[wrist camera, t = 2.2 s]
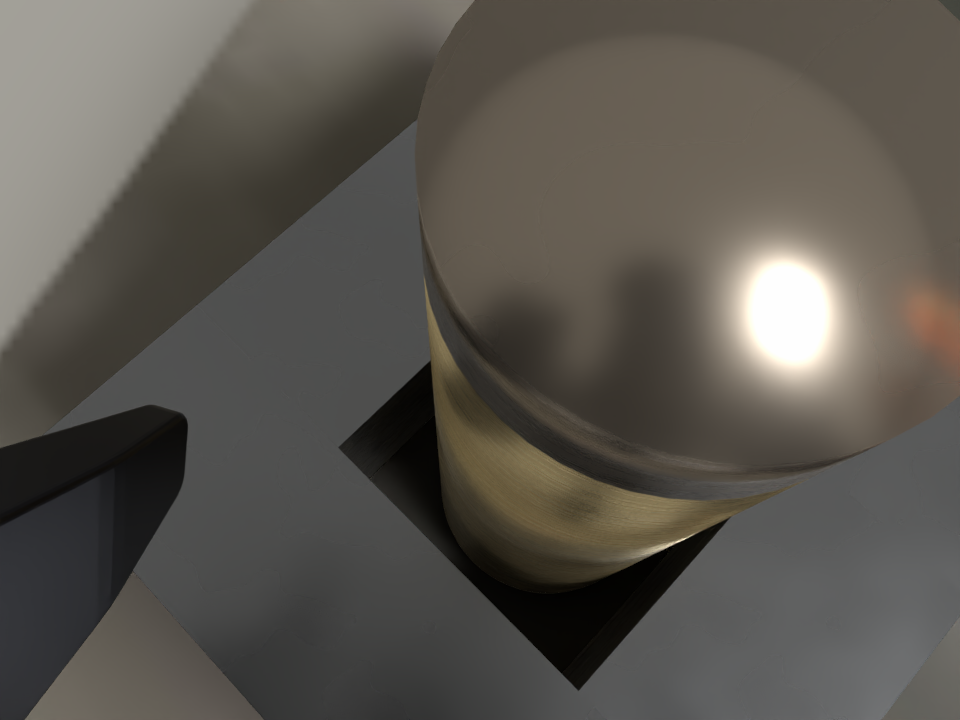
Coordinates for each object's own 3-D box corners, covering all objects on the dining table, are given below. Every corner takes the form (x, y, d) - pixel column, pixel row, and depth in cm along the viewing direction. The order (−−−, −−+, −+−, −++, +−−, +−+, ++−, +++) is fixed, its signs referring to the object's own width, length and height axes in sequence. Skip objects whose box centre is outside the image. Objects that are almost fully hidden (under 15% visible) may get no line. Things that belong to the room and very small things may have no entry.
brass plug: (551, 640, 19) (782, 617, 6) (397, 486, 20) (282, 152, 7) (693, 484, 20) (1161, 158, 7) (541, 345, 21) (689, -178, 8)
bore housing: (564, 995, 17) (596, 1096, 13) (108, 488, 20) (26, 449, 16) (970, 482, 20) (1090, 444, 16) (532, 114, 23) (548, 8, 19)
